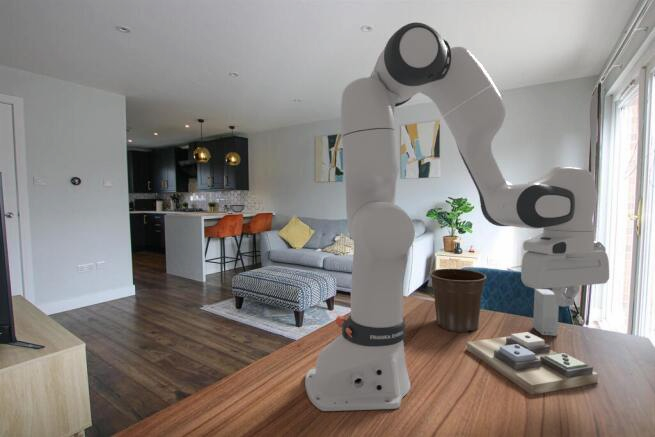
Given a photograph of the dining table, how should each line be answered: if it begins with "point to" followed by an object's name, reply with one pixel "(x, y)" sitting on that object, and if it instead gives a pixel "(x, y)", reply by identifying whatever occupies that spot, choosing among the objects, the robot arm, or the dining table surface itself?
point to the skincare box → (545, 312)
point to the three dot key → (566, 361)
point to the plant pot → (457, 298)
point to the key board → (531, 367)
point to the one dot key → (528, 339)
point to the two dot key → (517, 353)
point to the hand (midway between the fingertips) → (564, 305)
